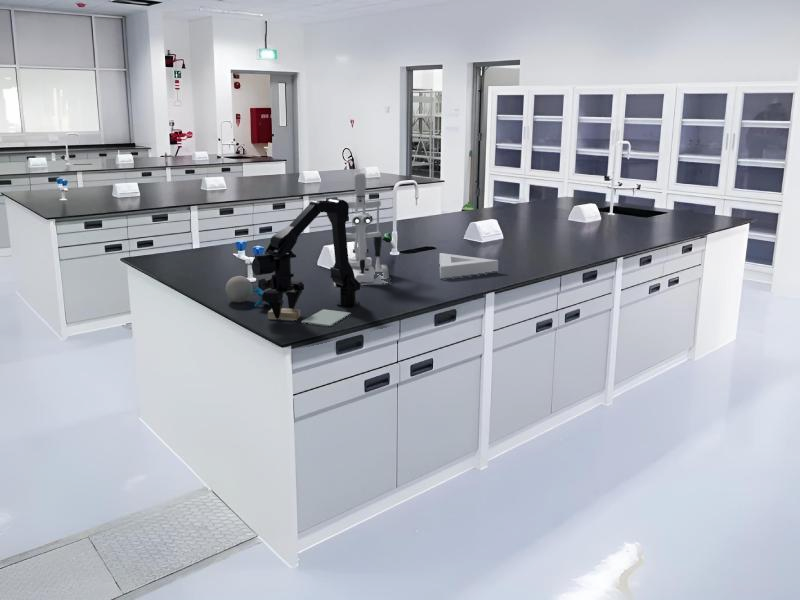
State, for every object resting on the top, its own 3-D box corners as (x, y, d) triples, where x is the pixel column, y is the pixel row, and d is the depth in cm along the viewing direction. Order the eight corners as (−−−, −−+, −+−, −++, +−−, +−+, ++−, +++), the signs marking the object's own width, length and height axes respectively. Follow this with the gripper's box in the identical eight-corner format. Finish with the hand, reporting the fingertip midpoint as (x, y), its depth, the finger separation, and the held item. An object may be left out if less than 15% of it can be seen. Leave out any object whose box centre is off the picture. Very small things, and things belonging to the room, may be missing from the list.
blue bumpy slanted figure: (274, 306, 251) (254, 286, 250) (263, 317, 252) (243, 298, 250) (278, 302, 262) (258, 283, 261) (267, 313, 263) (248, 294, 261)
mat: (323, 310, 252) (323, 309, 252) (350, 314, 248) (350, 312, 248) (301, 322, 237) (301, 321, 237) (330, 326, 234) (330, 325, 233)
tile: (273, 315, 246) (272, 307, 246) (300, 317, 245) (300, 309, 244) (268, 319, 242) (267, 311, 241) (296, 321, 240) (295, 313, 239)
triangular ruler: (439, 266, 328) (439, 252, 327) (494, 266, 327) (495, 253, 326) (440, 281, 299) (440, 266, 298) (500, 282, 298) (501, 267, 297)
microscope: (334, 287, 285) (332, 176, 273) (331, 272, 311) (330, 170, 299) (392, 286, 288) (393, 176, 276) (385, 271, 314) (385, 170, 302)
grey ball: (227, 306, 256) (225, 280, 254) (225, 299, 266) (224, 273, 263) (254, 304, 259) (253, 278, 256) (252, 297, 268) (251, 272, 266)
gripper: (276, 263, 250) (278, 305, 254) (247, 274, 233) (249, 319, 238) (304, 266, 246) (305, 309, 250) (275, 278, 229) (277, 323, 234)
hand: (284, 314), depth 243 cm, fingers open, 9 cm apart
